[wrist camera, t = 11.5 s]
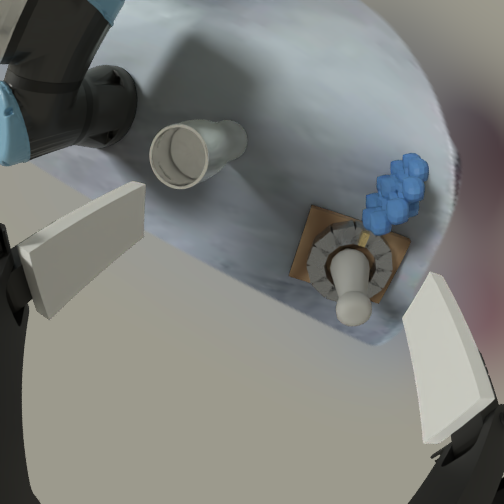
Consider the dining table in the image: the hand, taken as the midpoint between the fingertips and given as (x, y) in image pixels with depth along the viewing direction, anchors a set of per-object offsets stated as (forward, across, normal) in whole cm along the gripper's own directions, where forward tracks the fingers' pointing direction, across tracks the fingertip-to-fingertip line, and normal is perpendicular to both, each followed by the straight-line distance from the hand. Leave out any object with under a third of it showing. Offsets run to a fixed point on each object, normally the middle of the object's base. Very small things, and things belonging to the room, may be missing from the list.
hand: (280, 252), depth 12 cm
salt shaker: (+28, +10, -13) cm, 32 cm away
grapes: (+29, +12, 0) cm, 31 cm away
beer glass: (+29, -12, -1) cm, 31 cm away
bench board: (+29, +10, -13) cm, 33 cm away
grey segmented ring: (+28, +10, -13) cm, 32 cm away
